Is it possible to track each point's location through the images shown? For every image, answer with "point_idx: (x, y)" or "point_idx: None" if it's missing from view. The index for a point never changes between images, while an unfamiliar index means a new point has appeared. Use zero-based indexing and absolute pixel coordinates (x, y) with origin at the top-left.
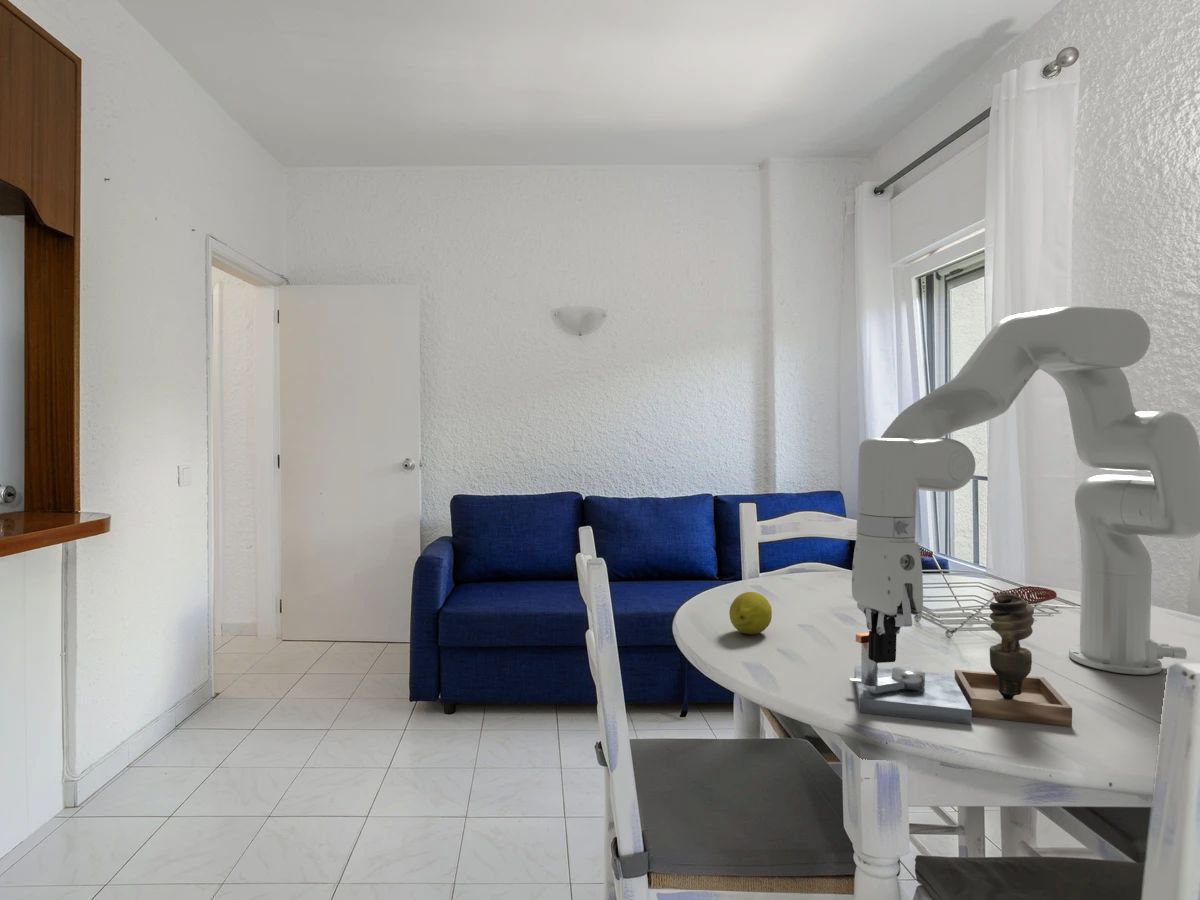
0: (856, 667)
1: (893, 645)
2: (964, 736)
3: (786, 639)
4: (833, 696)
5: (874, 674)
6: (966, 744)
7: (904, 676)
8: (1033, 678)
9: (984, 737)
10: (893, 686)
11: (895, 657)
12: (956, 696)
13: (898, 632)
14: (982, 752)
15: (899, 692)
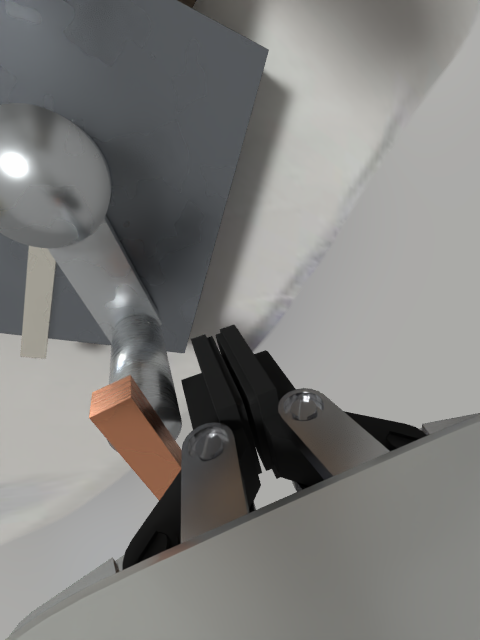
0: None
1: (282, 374)
2: (313, 135)
3: None
4: (72, 375)
5: (164, 344)
6: (348, 156)
7: (101, 220)
8: None
9: (325, 78)
10: (128, 260)
11: (237, 329)
12: (146, 24)
13: (320, 395)
14: (385, 140)
15: (126, 235)
